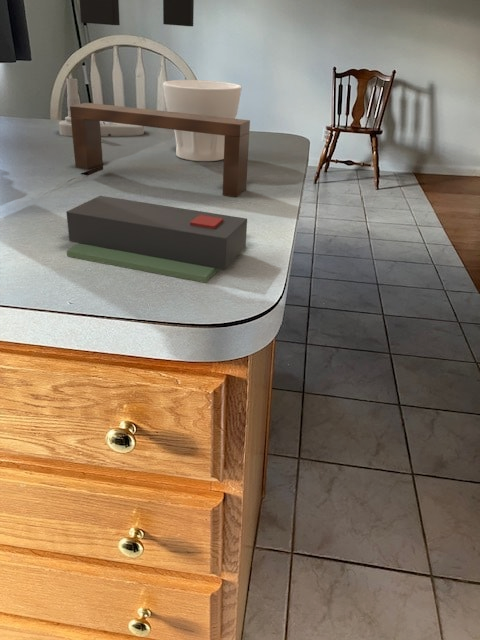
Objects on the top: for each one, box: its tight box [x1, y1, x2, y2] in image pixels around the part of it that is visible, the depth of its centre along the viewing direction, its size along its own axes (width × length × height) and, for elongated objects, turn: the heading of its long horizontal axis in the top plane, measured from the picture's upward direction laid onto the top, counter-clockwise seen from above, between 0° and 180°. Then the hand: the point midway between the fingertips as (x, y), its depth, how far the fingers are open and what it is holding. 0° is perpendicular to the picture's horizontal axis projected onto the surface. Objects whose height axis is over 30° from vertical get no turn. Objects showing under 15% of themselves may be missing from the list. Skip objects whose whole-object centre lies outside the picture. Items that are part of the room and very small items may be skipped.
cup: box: [162, 79, 243, 163], centre depth 88 cm, size 12×12×11 cm
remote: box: [65, 195, 248, 271], centre depth 52 cm, size 16×6×3 cm, turn 72°
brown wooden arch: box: [70, 102, 251, 198], centre depth 73 cm, size 24×4×9 cm, turn 72°
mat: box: [66, 243, 220, 283], centre depth 53 cm, size 14×10×1 cm
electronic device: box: [58, 77, 145, 137], centre depth 97 cm, size 5×10×15 cm
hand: (144, 25), depth 45 cm, fingers open, 13 cm apart
